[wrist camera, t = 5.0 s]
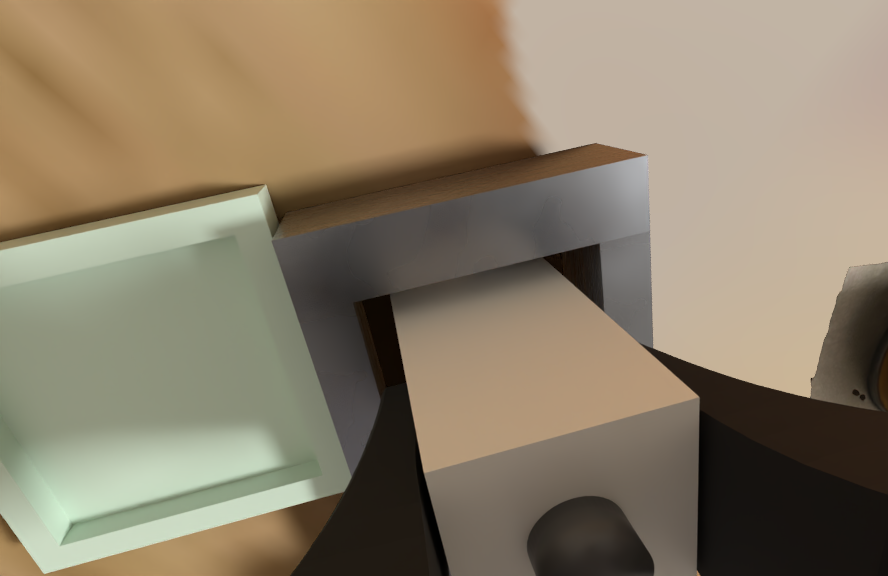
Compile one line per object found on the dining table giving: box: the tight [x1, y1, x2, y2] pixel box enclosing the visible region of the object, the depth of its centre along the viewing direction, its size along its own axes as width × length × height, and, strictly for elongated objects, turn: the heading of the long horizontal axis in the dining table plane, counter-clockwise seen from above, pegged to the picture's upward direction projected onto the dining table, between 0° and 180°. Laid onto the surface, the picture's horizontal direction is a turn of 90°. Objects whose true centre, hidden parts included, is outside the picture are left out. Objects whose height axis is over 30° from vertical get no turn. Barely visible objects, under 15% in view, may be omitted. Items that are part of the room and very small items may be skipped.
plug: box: [390, 257, 700, 576], centre depth 10 cm, size 4×4×7 cm
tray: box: [0, 185, 352, 574], centre depth 13 cm, size 8×8×1 cm
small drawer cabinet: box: [272, 143, 653, 576], centre depth 15 cm, size 18×8×3 cm, turn 10°
